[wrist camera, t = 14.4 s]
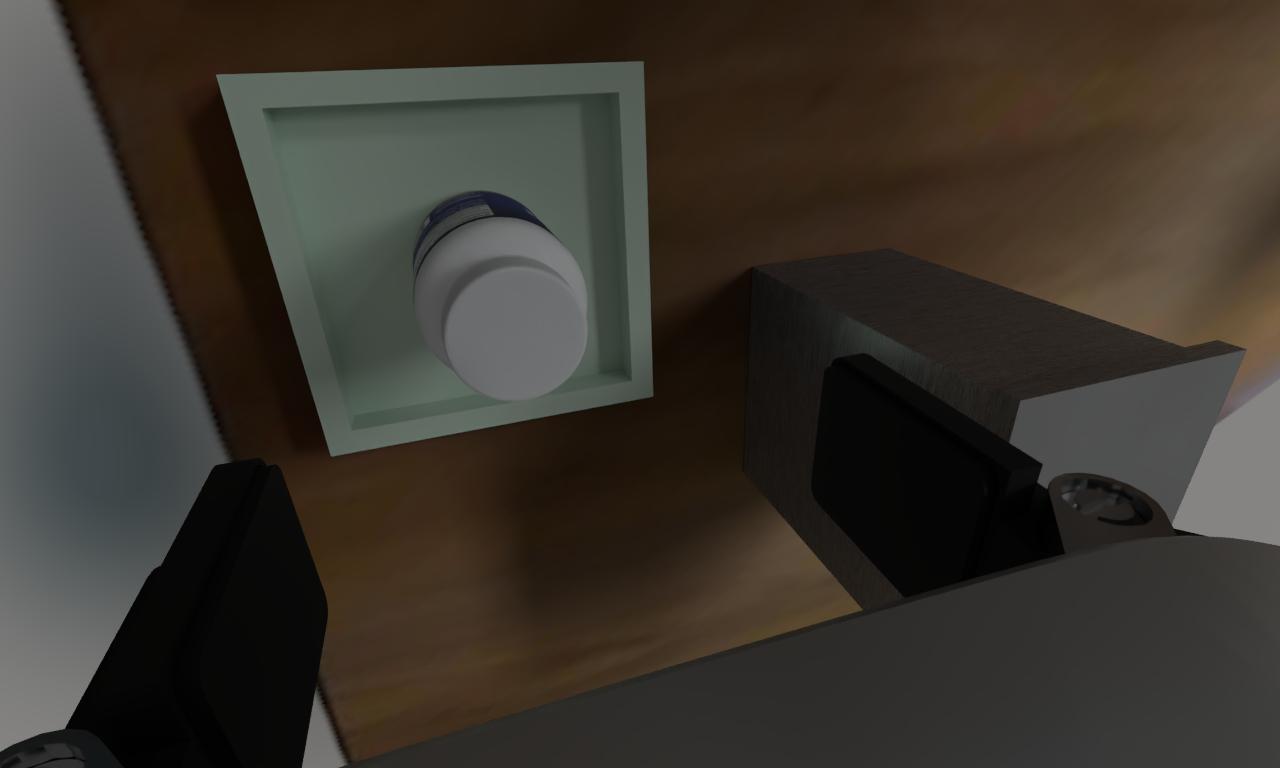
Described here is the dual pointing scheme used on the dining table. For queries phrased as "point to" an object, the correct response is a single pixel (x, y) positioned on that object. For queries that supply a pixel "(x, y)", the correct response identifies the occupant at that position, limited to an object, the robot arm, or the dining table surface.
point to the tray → (403, 196)
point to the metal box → (968, 383)
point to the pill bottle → (498, 296)
